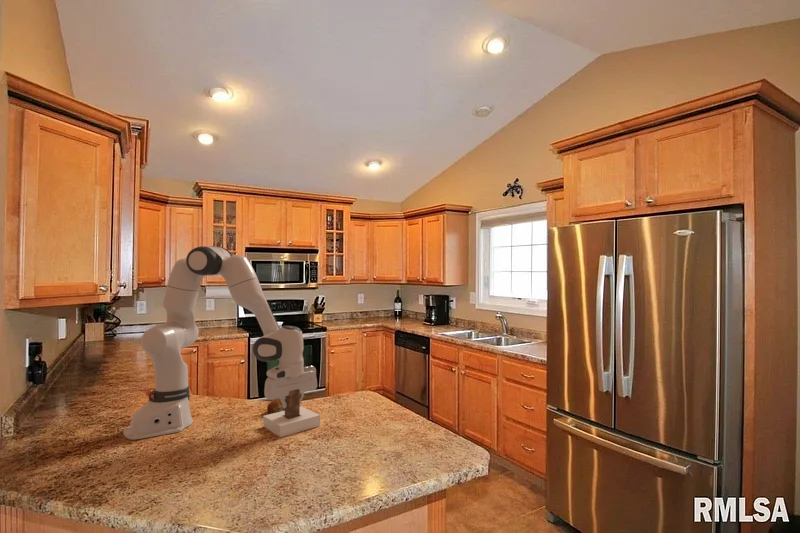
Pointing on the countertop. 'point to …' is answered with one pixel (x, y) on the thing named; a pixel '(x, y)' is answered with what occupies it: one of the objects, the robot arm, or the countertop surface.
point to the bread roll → (275, 406)
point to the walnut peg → (292, 404)
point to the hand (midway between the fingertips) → (291, 406)
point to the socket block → (291, 422)
